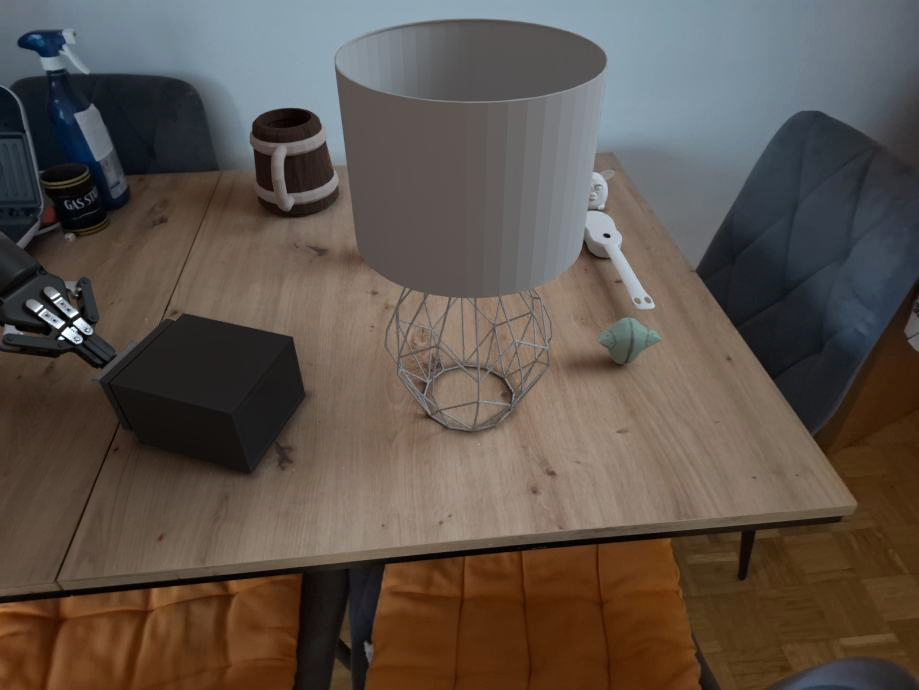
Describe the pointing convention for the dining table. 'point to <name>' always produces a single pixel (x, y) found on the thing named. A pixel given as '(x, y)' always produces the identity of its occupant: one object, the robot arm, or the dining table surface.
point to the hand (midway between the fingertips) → (110, 363)
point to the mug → (292, 163)
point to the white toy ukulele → (613, 254)
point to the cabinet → (212, 391)
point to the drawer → (120, 364)
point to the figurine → (599, 189)
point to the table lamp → (470, 166)
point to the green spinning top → (627, 340)
